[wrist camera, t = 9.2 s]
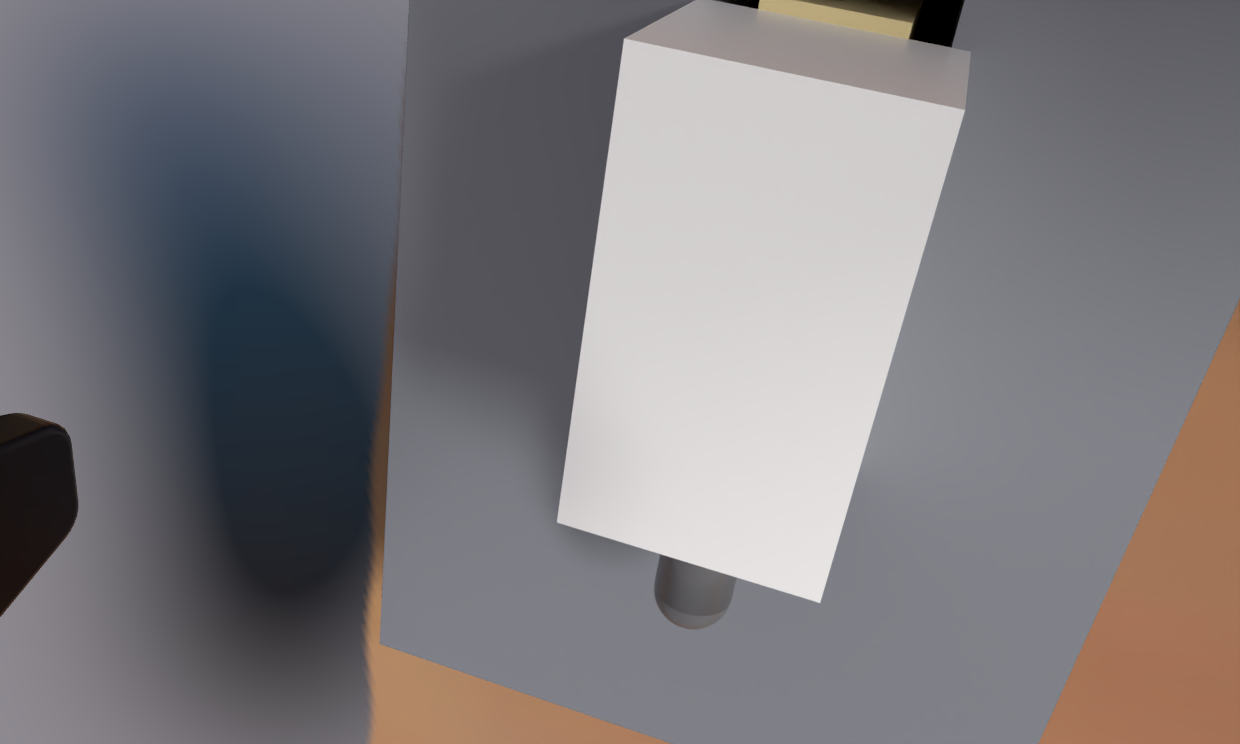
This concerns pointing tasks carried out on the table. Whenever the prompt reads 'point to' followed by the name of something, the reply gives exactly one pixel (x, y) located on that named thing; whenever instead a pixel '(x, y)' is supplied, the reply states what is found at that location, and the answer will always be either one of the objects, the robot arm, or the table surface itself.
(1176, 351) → the socket
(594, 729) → the table surface
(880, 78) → the plug
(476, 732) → the table surface
